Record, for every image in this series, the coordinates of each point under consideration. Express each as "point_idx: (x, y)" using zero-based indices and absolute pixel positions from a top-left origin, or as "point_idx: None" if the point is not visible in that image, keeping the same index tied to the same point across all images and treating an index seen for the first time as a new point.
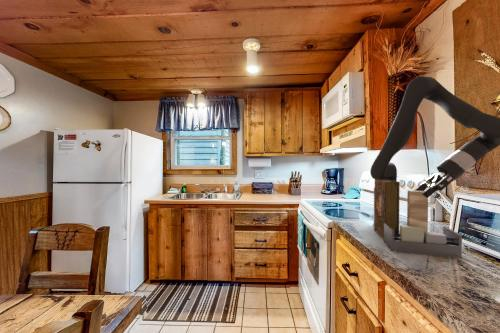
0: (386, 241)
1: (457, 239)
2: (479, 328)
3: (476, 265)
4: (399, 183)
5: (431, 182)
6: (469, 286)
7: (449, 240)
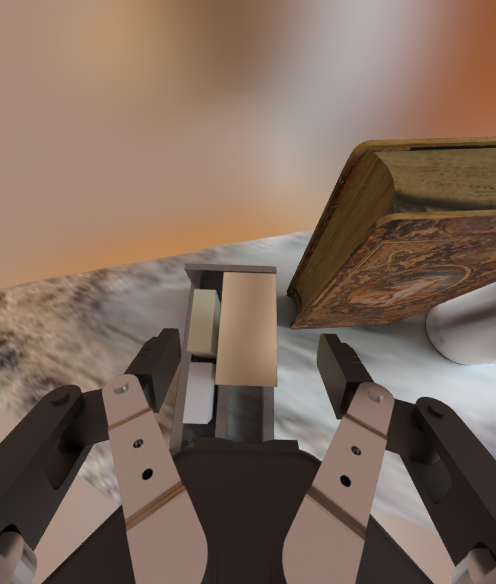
0: None
1: (172, 454)
2: None
3: None
4: (374, 228)
5: (265, 450)
6: (25, 370)
7: None
